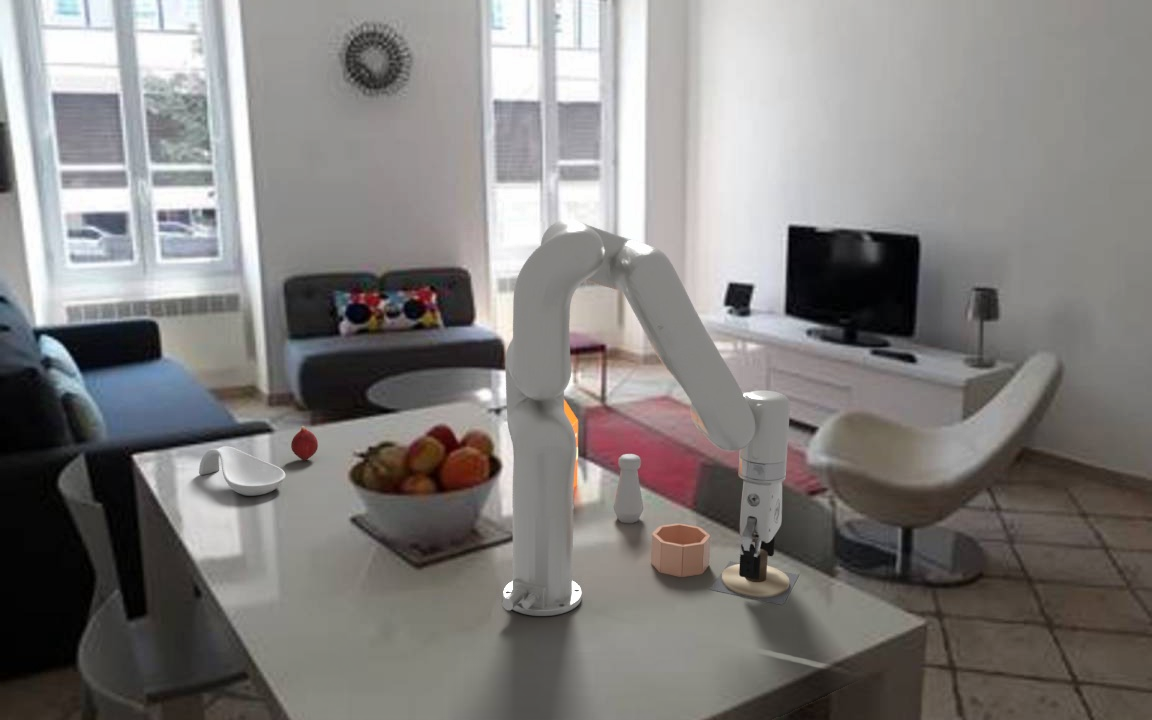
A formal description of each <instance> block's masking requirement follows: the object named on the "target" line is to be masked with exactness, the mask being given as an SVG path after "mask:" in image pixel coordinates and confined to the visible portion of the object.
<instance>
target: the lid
mask: <svg viewBox="0 0 1152 720" xmlns="http://www.w3.org/2000/svg"><path fill="white" fill-rule="evenodd" d="M759 556H761V560H760V577H759V579H758V580H755V579H750V578H745V577H741V576H740V575H739V569H740V564H736V565H732V566H730V567H728V568H726V569H725V568H724V569H725V570H724V569H723V570H724V571H723V570H722V572H723V573H722V572H721V573H722V582H723V584H724V585H725V586H726V587H727V588H728V589H730V590H732V591H734V592H736V593H739V594H742V595H746V596H751V597H773V596H777V595H780V594H783V593H784V592H786V591H787V590H788V588H789V578H788V576H787V575H786V574H785V573H783V572H784V571H781V570H780V569H779V568H776V567H773V566H769V565H768V557H769V556H768V552H767V551H766V550H763V549H760V551H759Z"/></svg>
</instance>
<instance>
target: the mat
mask: <svg viewBox="0 0 1152 720" xmlns="http://www.w3.org/2000/svg"><path fill="white" fill-rule="evenodd" d="M736 564H740V562H737V561H731V560H730V561H729V562H728V563H727V565H726V566H725V568H724V569H723V570H722V572H721V573H720V574H719V576H718V577H717V578H716V579H715V581H714V583H713V584H712V586H711V587H710V588H709V590H710V591H714V592H719V593H723V594H728V595H733V596H738V597H743V598H746V599H752V600H755V601H756V600H757V601H761V602H767V603H771V604H775V605H779V606H784V604H785V602H786V600H787V598H788V597H789V594H790V593H791V591H792V589H793V587H794V585H795V584H796V582H797V579H798V578H799V576H800V574H796V573H791V572H787V571H782V572H783V573H785V574H786V575H787V576H788V578H789V588H788V590H787V591H786V592H784V593H783V594H780V595H777V596H773V597H751V596H746V595H742V594H739V593H736V592H734V591H732V590H730V589H728V588H727V587H726V586H725V585H724V584H723V582H722V573H723V571H724V570H725V569H726V568H728V567H730V566H732V565H736Z"/></svg>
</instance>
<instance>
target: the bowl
mask: <svg viewBox="0 0 1152 720" xmlns="http://www.w3.org/2000/svg"><path fill="white" fill-rule="evenodd" d="M650 547H651V549H650V550H651V552H650V554H651V555H650V564H651V565H652V566H653V567H654V568H655V569H656V570H657V571H658V572H659V573H661V574H665V575H670V576H675V577H680V578H685V577H690V576H691V577H692V576H698V575H702V574H703V573H704V572H705V571H706V570H707V568H708V567H709V566H710V550H711V535H710V534H709V533H708V532H706V530H704V529H703V528H702V527H700V526H696V525H690V524H685V523H679V522H678V523H671V524H662V525H659V526H658V527H657V528H655V530H654V531H653V532H652V533H651V546H650Z"/></svg>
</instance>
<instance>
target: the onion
mask: <svg viewBox="0 0 1152 720" xmlns="http://www.w3.org/2000/svg"><path fill="white" fill-rule="evenodd" d="M318 443H319V442H318V439H317V437H316V436H315V434H314V433H313V432H311V431H310V430H308V429H307V428H306V426H304V425H302V426H301V429H300V431H299V432H297V433H296V434H294V436H293V438H292V440H291V444H290V445H291V451H292V452H293V454H294V455H295V456H297V457H298V458H299V459H301V460H302V461H308V459H310V458H311V457H312V456H314V455H315V454H316V453H317V451H318V448H319V447H318V446H319V444H318Z"/></svg>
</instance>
